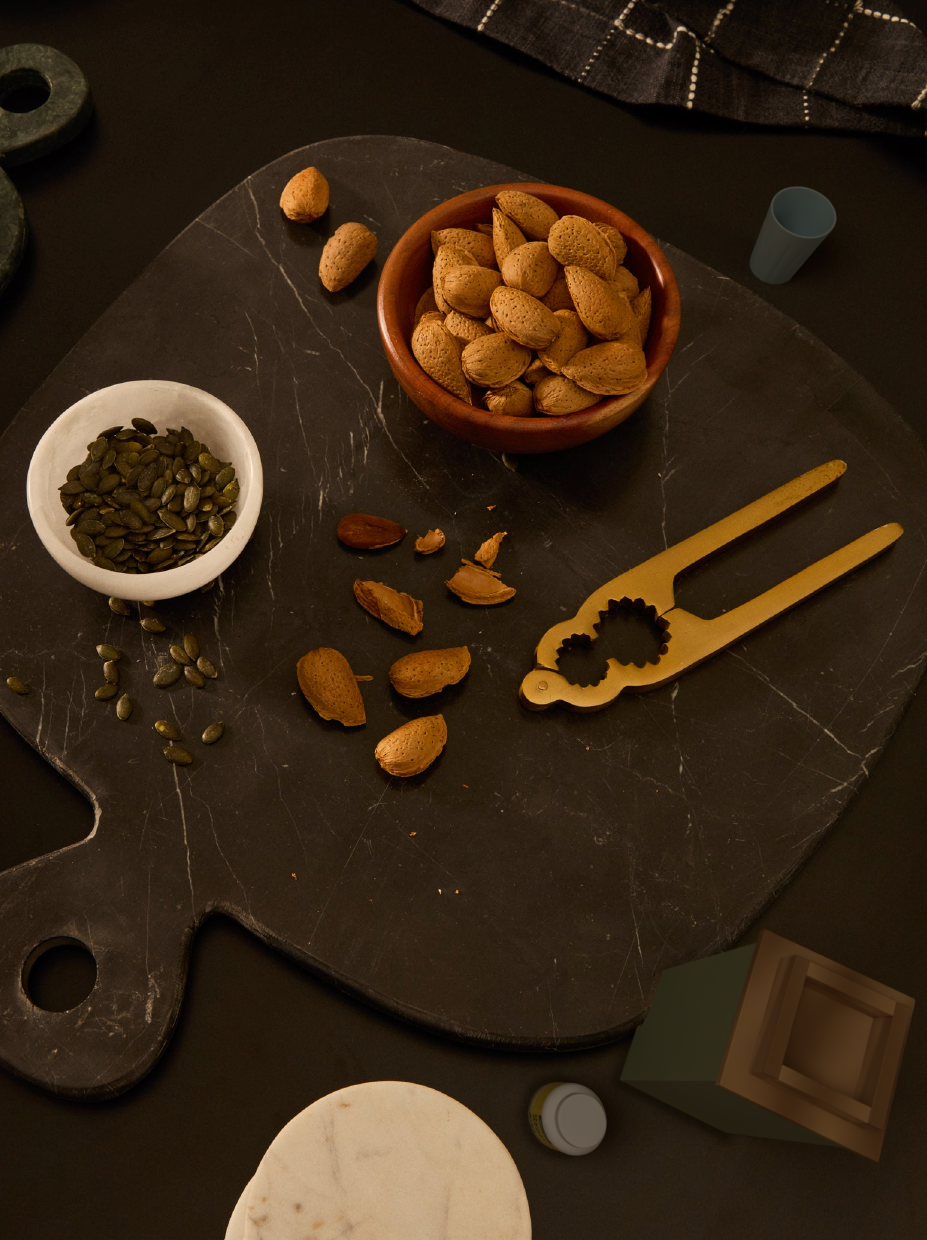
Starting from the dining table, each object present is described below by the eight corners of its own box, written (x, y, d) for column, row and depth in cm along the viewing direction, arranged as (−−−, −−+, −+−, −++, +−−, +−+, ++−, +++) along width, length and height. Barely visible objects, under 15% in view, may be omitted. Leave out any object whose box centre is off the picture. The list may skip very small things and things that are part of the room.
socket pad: (909, 1000, 81) (938, 996, 78) (871, 1162, 77) (900, 1166, 73) (759, 930, 83) (781, 923, 79) (714, 1085, 78) (735, 1085, 75)
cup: (810, 289, 143) (846, 234, 134) (751, 296, 142) (783, 241, 133) (790, 241, 146) (823, 183, 137) (732, 247, 145) (762, 189, 136)
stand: (756, 1021, 106) (900, 1004, 81) (724, 1133, 102) (866, 1151, 77) (653, 972, 108) (764, 940, 82) (618, 1080, 104) (723, 1081, 78)
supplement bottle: (514, 1114, 102) (535, 1117, 93) (556, 1068, 104) (581, 1067, 95) (558, 1165, 101) (584, 1174, 92) (600, 1118, 102) (629, 1122, 93)
